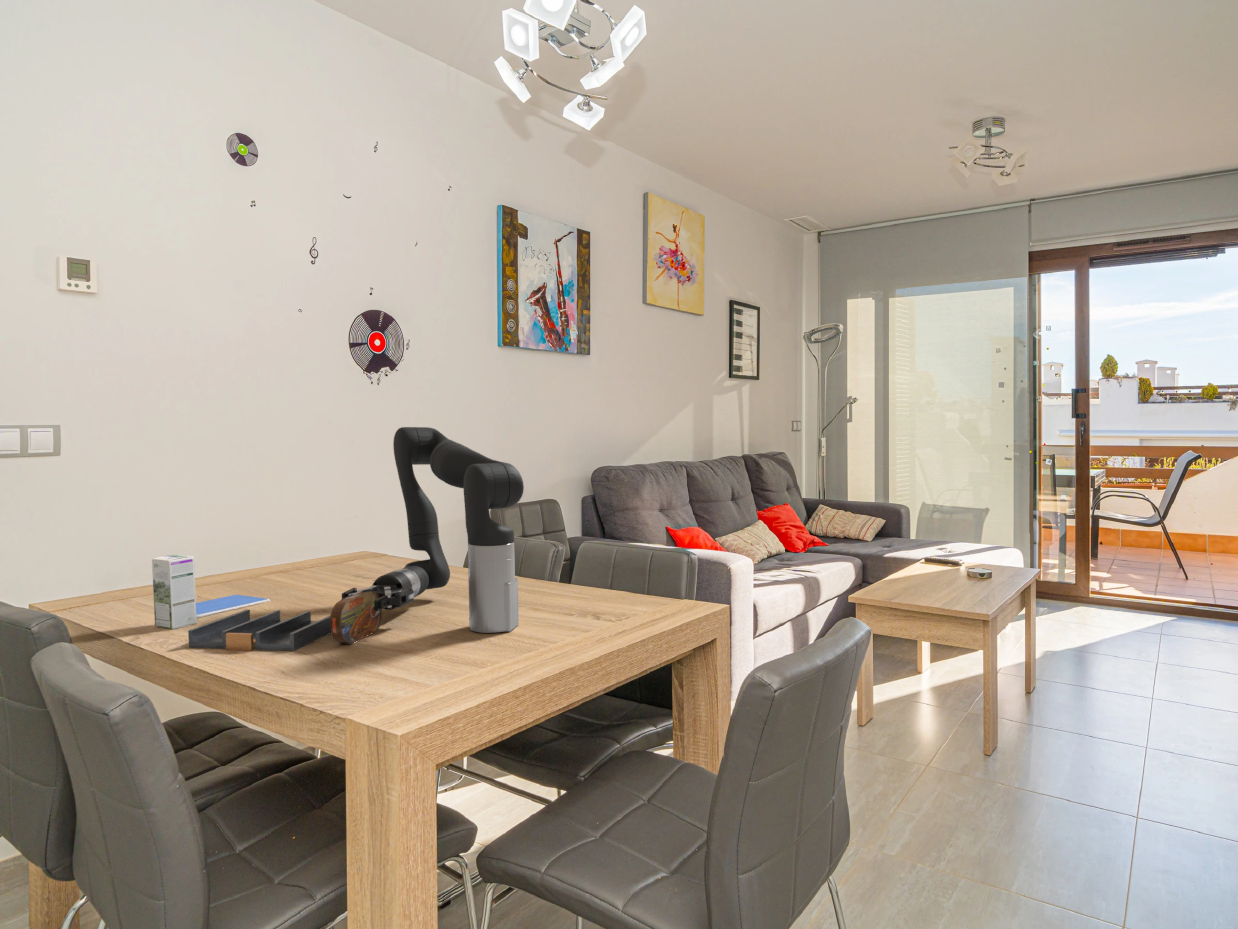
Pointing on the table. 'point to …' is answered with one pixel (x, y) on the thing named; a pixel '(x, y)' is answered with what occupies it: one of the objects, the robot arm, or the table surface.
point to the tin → (355, 617)
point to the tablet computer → (226, 604)
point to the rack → (259, 632)
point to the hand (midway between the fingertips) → (359, 605)
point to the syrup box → (174, 591)
